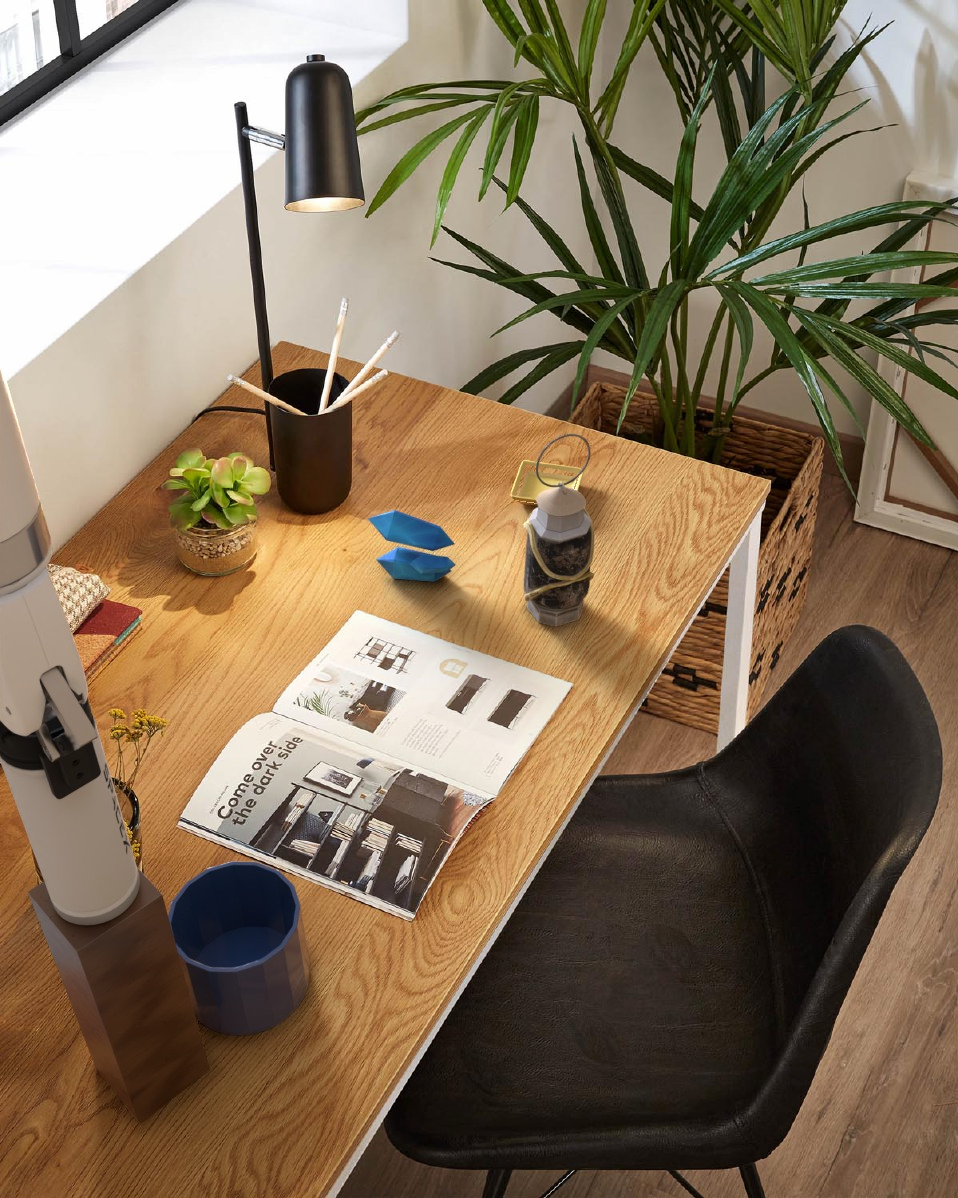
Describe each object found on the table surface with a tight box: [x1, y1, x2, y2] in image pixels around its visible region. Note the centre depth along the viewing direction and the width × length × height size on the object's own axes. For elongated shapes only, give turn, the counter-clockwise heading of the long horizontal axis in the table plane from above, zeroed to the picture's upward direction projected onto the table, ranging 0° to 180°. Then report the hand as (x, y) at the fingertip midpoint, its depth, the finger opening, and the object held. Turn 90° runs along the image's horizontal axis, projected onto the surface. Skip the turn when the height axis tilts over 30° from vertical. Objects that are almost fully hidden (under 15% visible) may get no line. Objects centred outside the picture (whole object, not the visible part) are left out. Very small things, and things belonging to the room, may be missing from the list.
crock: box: [167, 860, 311, 1037], centre depth 112 cm, size 11×11×10 cm
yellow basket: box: [509, 459, 585, 507], centre depth 171 cm, size 9×9×2 cm
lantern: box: [522, 433, 595, 628], centre depth 146 cm, size 9×8×25 cm
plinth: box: [27, 866, 211, 1125], centre depth 101 cm, size 7×7×25 cm
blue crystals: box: [367, 509, 457, 583], centre depth 156 cm, size 7×9×12 cm
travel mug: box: [0, 697, 140, 925], centre depth 86 cm, size 6×7×20 cm
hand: (49, 753), depth 83 cm, fingers closed on travel mug, 6 cm apart
